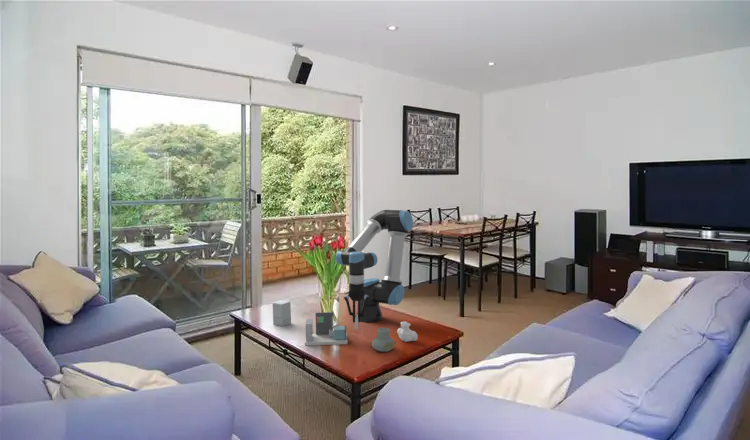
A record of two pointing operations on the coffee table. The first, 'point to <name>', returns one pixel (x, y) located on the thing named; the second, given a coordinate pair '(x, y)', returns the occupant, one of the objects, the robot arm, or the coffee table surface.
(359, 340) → the coffee table surface
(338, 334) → the block
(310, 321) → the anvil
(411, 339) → the duck figurine
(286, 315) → the supplement box
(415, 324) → the coffee table surface
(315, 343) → the gauge stand
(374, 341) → the air freshener
